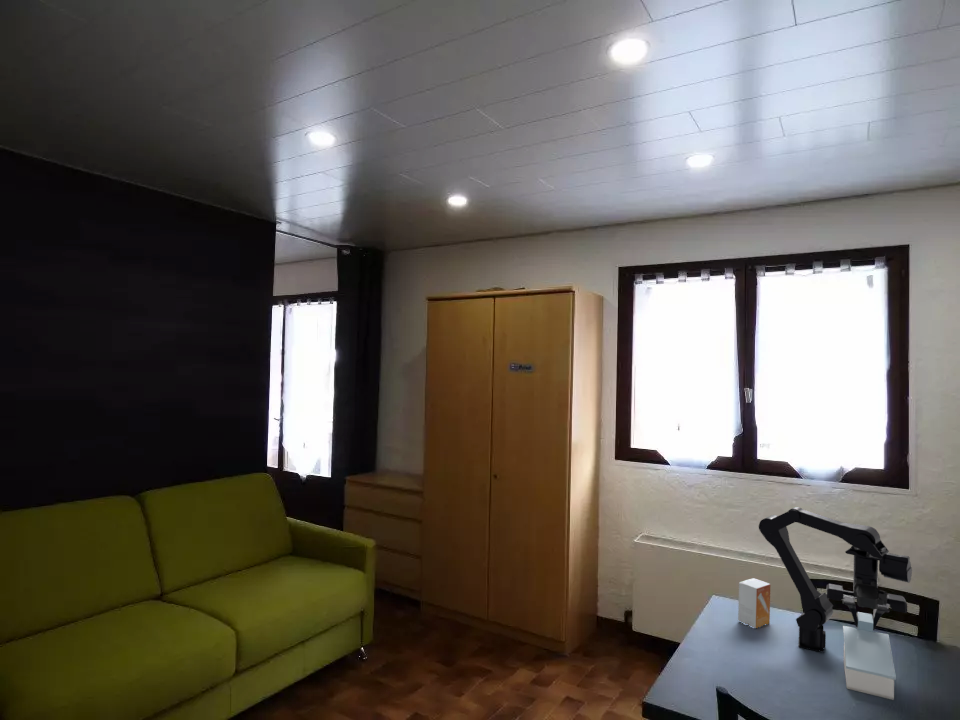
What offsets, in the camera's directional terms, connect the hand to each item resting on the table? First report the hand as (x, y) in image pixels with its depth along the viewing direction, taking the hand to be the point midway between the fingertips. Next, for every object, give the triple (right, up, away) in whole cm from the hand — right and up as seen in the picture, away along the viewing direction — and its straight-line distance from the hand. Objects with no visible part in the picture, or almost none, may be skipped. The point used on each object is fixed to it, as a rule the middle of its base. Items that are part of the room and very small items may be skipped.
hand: (864, 628), depth 165 cm
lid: (-4, -2, -7) cm, 8 cm away
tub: (-5, -10, -9) cm, 14 cm away
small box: (-20, -10, +25) cm, 33 cm away
